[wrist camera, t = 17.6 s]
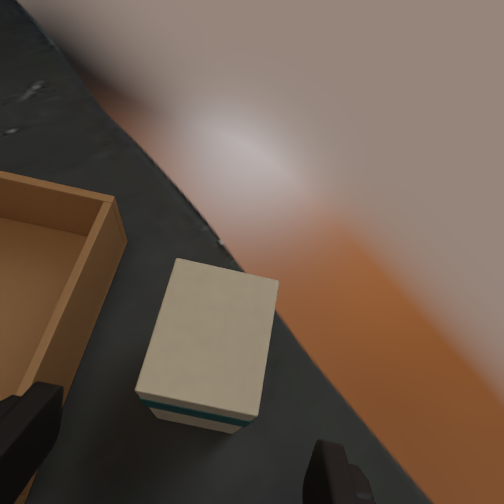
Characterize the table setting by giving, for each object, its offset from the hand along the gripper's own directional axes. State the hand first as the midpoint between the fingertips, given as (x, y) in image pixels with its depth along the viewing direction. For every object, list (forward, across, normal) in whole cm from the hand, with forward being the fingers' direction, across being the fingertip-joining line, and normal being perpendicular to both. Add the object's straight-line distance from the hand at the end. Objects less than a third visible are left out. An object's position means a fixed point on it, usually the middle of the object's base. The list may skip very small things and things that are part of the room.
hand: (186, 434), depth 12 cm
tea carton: (+11, 0, +5) cm, 12 cm away
